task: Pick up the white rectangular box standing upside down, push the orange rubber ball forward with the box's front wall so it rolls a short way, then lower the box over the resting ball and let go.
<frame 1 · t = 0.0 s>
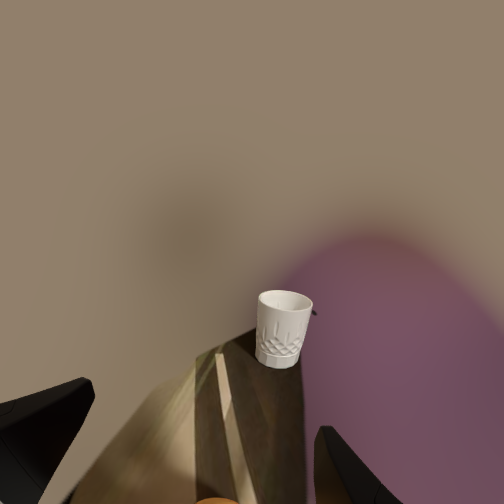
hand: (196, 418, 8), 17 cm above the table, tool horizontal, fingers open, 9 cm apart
white cup: (276, 358, 42), on the table
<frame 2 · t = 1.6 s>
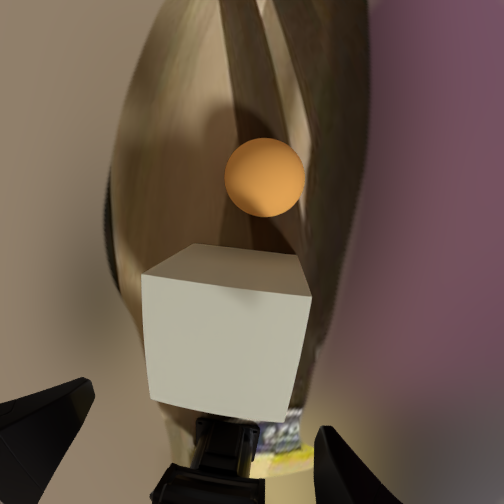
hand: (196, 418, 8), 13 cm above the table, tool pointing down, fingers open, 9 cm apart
white rectangular box: (239, 298, 21), on the table
ball: (264, 177, 17), on the table
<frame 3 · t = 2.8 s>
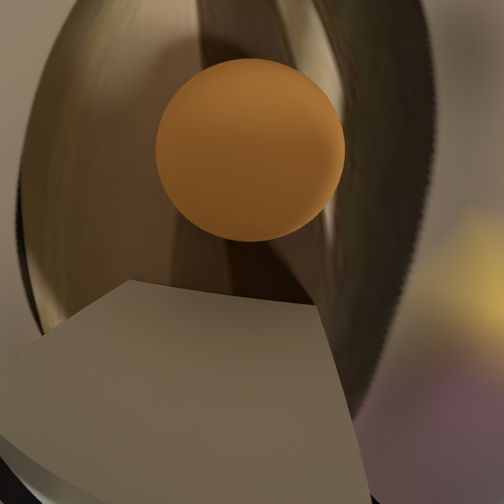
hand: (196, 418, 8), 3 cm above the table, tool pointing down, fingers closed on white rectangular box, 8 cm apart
white rectangular box: (212, 372, 11), on the table, touching gripper
ball: (250, 148, 7), on the table
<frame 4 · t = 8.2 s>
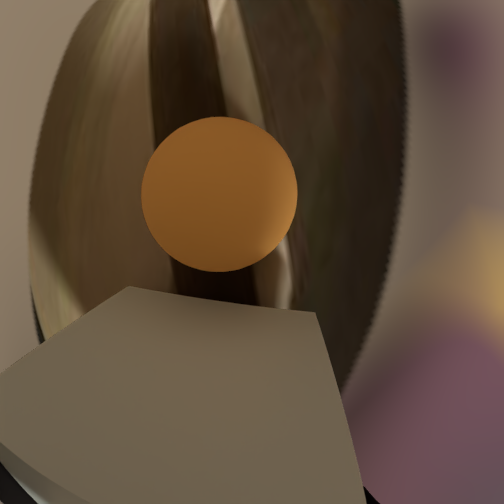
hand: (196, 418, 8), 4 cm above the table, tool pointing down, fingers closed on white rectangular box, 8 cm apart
white rectangular box: (211, 378, 11), point 2 cm above the table, touching gripper
ball: (218, 193, 9), on the table
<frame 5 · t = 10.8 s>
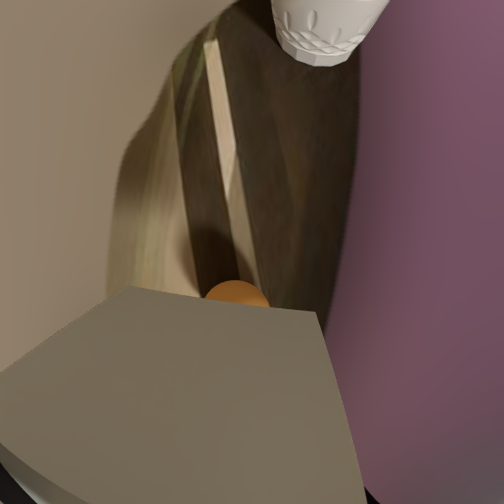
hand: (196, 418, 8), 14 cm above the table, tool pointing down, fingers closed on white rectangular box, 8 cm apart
white cup: (315, 38, 18), on the table
white rectangular box: (211, 378, 11), point 11 cm above the table, touching gripper
ball: (235, 314, 20), on the table
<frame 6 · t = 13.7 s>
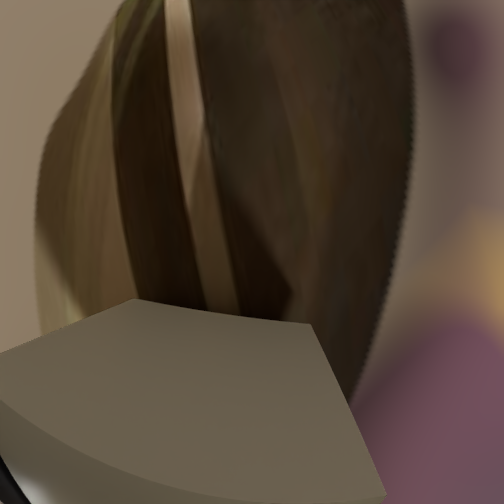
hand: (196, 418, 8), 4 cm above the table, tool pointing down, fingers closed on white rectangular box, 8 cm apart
white rectangular box: (210, 391, 11), point 2 cm above the table, tilted 10°, touching gripper
when the fingers open (4 cm above the table, at t = 14.5 s): white rectangular box stays where it is, on the table.
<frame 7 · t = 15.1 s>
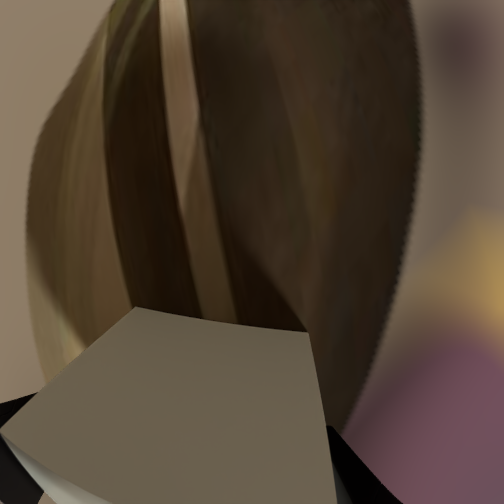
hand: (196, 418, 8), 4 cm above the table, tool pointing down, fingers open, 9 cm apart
white rectangular box: (213, 389, 12), on the table
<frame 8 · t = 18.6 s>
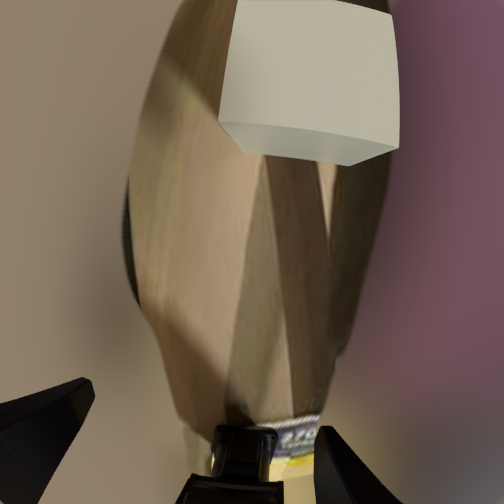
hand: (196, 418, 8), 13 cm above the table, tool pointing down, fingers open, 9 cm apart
white rectangular box: (301, 108, 18), on the table
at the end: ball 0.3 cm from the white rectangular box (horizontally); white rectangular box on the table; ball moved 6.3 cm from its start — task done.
